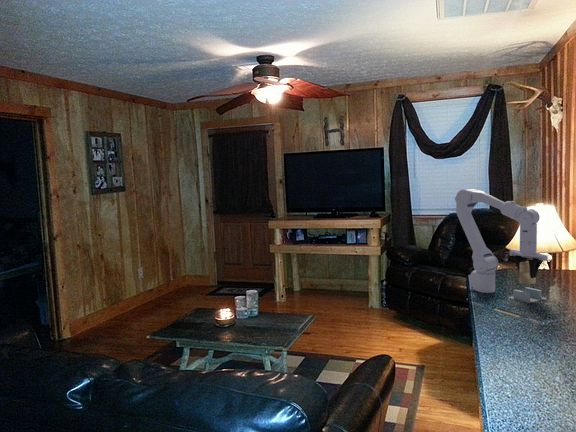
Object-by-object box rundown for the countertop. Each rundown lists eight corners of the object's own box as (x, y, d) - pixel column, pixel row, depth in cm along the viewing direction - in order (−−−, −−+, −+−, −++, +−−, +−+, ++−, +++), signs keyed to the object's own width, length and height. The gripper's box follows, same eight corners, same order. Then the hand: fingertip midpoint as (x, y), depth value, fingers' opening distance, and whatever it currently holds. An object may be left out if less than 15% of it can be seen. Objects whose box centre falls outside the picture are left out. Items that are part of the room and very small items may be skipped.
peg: (519, 282, 176) (519, 262, 175) (526, 281, 177) (526, 260, 177) (528, 284, 172) (529, 263, 171) (535, 283, 174) (536, 262, 173)
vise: (507, 299, 177) (507, 289, 177) (526, 295, 182) (526, 285, 182) (528, 305, 169) (528, 294, 169) (547, 300, 174) (547, 290, 173)
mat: (494, 310, 164) (494, 309, 164) (519, 304, 171) (519, 303, 171) (518, 317, 155) (518, 316, 155) (545, 311, 162) (545, 310, 162)
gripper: (504, 240, 178) (504, 274, 179) (539, 244, 165) (538, 281, 166) (516, 238, 181) (516, 272, 182) (551, 243, 168) (550, 279, 169)
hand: (527, 276), depth 174 cm, fingers closed on peg, 4 cm apart
